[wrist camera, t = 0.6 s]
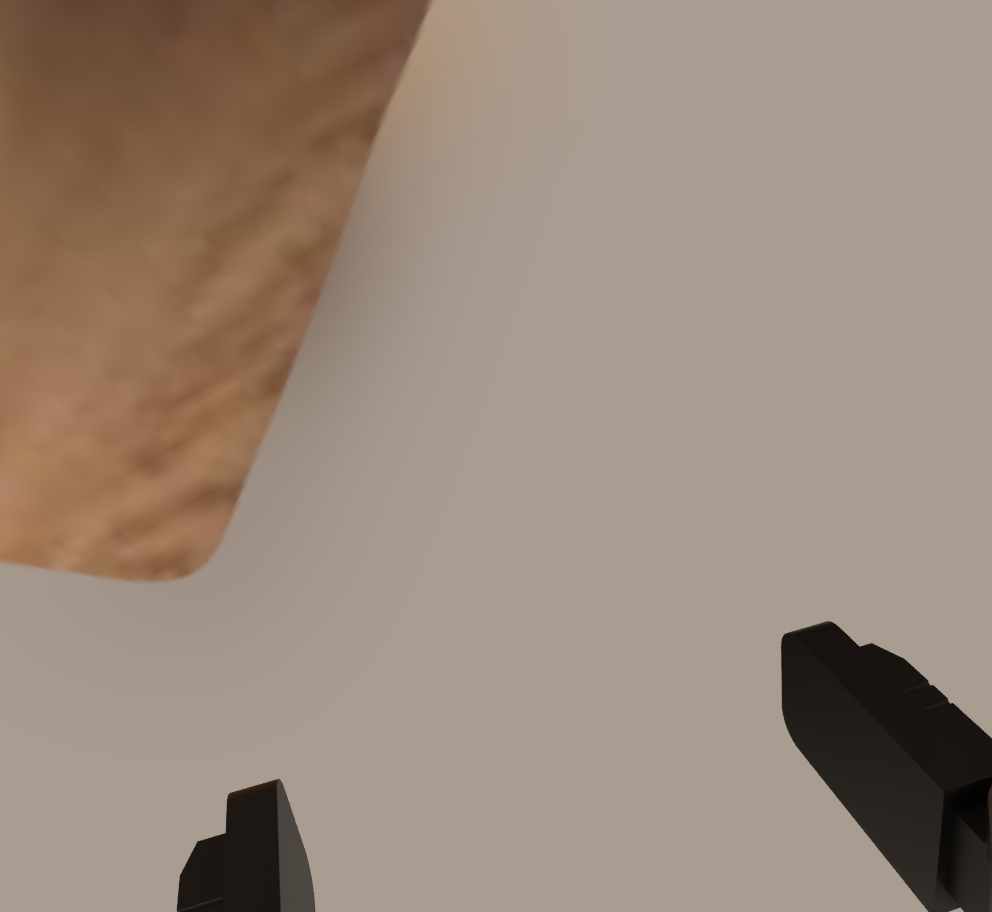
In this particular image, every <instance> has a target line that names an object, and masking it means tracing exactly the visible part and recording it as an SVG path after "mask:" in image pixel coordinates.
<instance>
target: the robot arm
mask: <svg viewBox="0 0 992 912" xmlns="http://www.w3.org/2000/svg"><path fill="white" fill-rule="evenodd" d="M781 668H782V711H783V716H784V720H785V724H786V727H787V729H788V731H789V734H790V736H791V738H792V740H793V742H794V743H795V745H796V746H797V748H798V749H799V750H800V751H801V753H802V754H803V755H804V756H805V758H806V759H807V760H808V761H809V763H810V764H811V765H812V766H813V768H814V769H815V770H816V771H817V773H818V774H819V775H820V777H821V778H822V779H823V780H824V781H825V783H826V784H827V785H828V786H829V788H830V789H831V790H832V791H833V793H834V794H835V795H836V797H837V798H838V799H839V800H840V802H841V803H842V804H843V805H844V806H845V808H846V809H847V810H848V812H849V813H850V814H851V815H852V817H853V818H854V819H855V820H856V822H857V823H858V824H859V825H860V826H861V828H862V829H863V830H864V832H865V833H866V834H867V835H868V837H869V838H870V839H871V840H872V842H873V843H874V844H875V845H876V847H877V848H878V849H879V850H880V852H881V853H882V854H883V855H884V857H885V858H886V859H887V860H888V862H889V863H890V864H891V865H892V867H893V868H894V869H895V870H896V872H897V873H898V874H899V875H900V877H901V878H902V879H903V880H904V882H905V883H906V884H907V885H908V887H909V888H910V889H911V890H912V892H913V893H914V894H915V895H916V897H917V898H918V899H919V900H920V902H921V903H922V904H923V905H924V906H925V908H926V909H927V910H928V912H949V911H952V910H954V909H957V908H960V907H961V909H962V910H963V911H964V912H992V738H991V737H990V736H988V735H987V734H986V733H985V732H984V731H983V730H982V729H981V728H980V727H979V726H978V725H976V724H975V723H974V722H973V721H972V720H971V719H970V718H969V717H967V716H966V715H965V714H964V713H963V712H962V711H961V710H960V709H959V708H958V707H957V706H955V705H954V704H953V703H951V704H950V703H949V702H948V698H947V697H946V696H945V695H943V694H942V693H941V692H940V691H939V690H938V689H937V688H936V687H935V686H934V685H931V686H930V684H929V682H928V680H927V679H926V678H925V677H924V676H923V675H921V674H920V673H919V672H918V671H917V670H916V669H915V668H914V667H913V666H912V665H911V664H909V663H908V662H907V661H906V660H905V659H904V658H901V657H899V656H897V655H895V654H893V653H891V652H889V651H887V650H885V649H883V648H880V647H878V646H876V645H874V644H872V643H871V644H867V645H864V646H860V647H859V646H858V645H857V644H856V643H855V642H854V641H853V640H852V639H851V638H850V637H849V636H848V635H847V634H846V633H845V632H844V631H843V630H841V629H840V627H838V626H837V625H836V624H834V623H833V622H829V621H828V622H824V623H821V624H817V625H813V626H810V627H806V628H803V629H800V630H796V631H793V632H789V633H786V634H785V635H784V636H783V638H782V642H781ZM177 912H315V901H314V892H313V883H312V877H311V872H310V867H309V863H308V859H307V855H306V851H305V848H304V845H303V843H302V839H301V837H300V833H299V830H298V828H297V825H296V822H295V819H294V816H293V813H292V810H291V807H290V804H289V801H288V798H287V795H286V792H285V789H284V786H283V784H282V782H281V780H280V779H277V780H273V781H270V782H266V783H263V784H260V785H256V786H253V787H249V788H246V789H242V790H239V791H235V792H232V793H229V795H228V799H227V814H226V833H225V834H221V835H218V836H215V837H211V838H208V839H205V840H201V841H198V842H197V844H196V846H195V848H194V850H193V851H192V853H191V855H190V857H189V859H188V861H187V863H186V865H185V867H184V869H183V871H182V873H181V875H180V882H179V892H178V904H177Z"/></svg>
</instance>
